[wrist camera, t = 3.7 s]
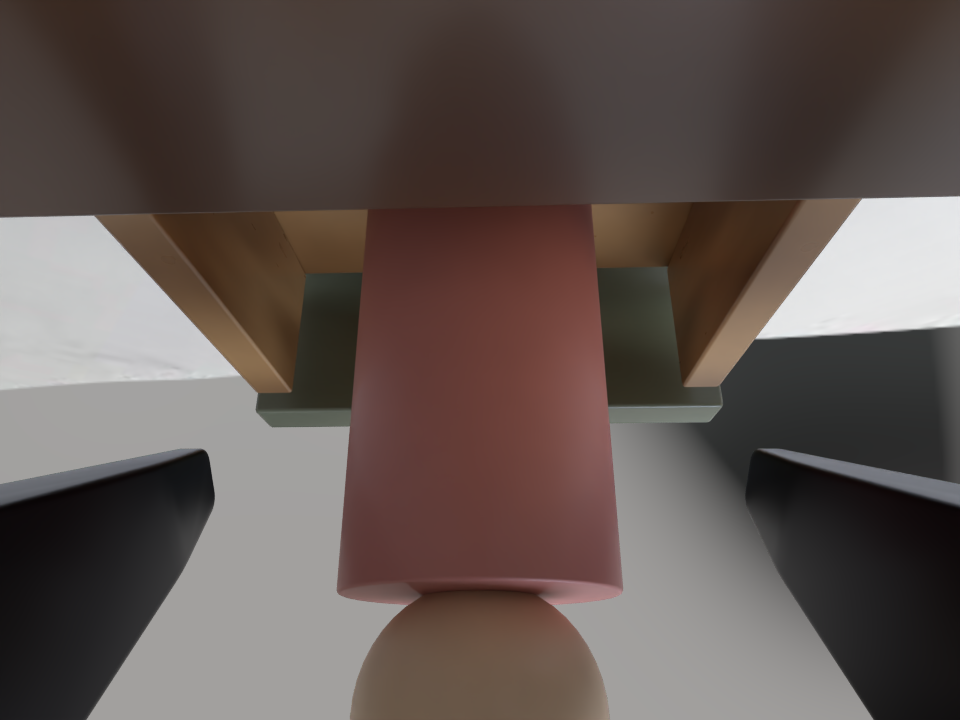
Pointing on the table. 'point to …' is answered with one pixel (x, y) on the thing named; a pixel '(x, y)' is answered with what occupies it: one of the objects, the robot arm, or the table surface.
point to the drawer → (621, 284)
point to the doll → (480, 464)
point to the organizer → (471, 103)
